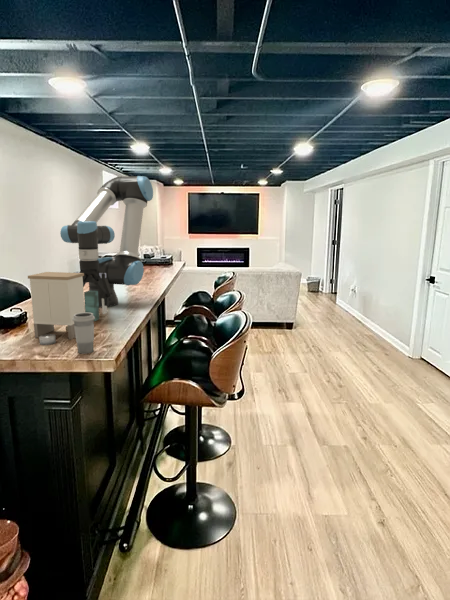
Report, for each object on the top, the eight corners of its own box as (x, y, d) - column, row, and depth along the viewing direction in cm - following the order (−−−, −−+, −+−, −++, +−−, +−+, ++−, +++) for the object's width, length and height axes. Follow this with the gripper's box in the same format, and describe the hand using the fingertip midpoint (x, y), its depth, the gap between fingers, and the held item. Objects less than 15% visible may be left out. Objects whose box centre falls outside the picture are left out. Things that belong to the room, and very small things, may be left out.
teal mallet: (90, 318, 165) (88, 290, 163) (99, 318, 164) (97, 291, 162) (64, 331, 146) (62, 299, 143) (74, 331, 145) (72, 300, 143)
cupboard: (51, 329, 148) (46, 271, 143) (87, 331, 146) (83, 273, 141) (33, 337, 137) (27, 275, 133) (72, 339, 135) (67, 277, 131)
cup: (93, 354, 120) (91, 317, 118) (71, 355, 120) (68, 317, 117) (99, 347, 127) (97, 311, 125) (78, 347, 127) (75, 312, 124)
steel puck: (45, 340, 134) (45, 333, 134) (58, 341, 134) (58, 334, 133) (36, 344, 130) (36, 337, 129) (50, 345, 129) (49, 338, 128)
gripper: (57, 259, 156) (61, 313, 160) (111, 261, 152) (114, 315, 157) (67, 258, 163) (71, 309, 167) (119, 259, 160) (122, 311, 164)
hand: (92, 312), depth 162 cm, fingers open, 10 cm apart
